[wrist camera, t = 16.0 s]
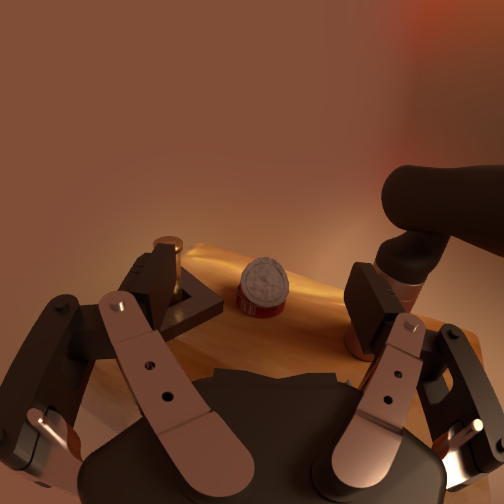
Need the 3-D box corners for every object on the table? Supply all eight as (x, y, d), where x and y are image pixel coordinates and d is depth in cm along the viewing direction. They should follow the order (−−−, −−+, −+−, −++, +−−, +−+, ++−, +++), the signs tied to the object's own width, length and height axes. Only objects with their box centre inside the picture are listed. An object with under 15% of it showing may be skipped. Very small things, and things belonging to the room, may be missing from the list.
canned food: (277, 311, 62) (306, 284, 57) (260, 336, 53) (292, 307, 49) (239, 277, 63) (265, 246, 58) (217, 296, 55) (245, 263, 50)
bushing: (176, 295, 56) (172, 233, 49) (190, 309, 53) (188, 244, 46) (155, 304, 52) (148, 241, 45) (168, 319, 50) (162, 253, 43)
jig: (181, 277, 61) (181, 266, 60) (223, 311, 53) (223, 299, 52) (125, 300, 52) (123, 288, 51) (161, 344, 44) (159, 332, 43)
